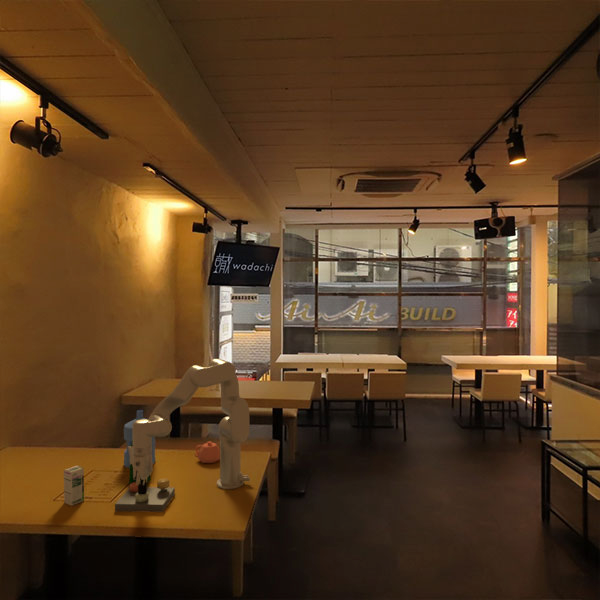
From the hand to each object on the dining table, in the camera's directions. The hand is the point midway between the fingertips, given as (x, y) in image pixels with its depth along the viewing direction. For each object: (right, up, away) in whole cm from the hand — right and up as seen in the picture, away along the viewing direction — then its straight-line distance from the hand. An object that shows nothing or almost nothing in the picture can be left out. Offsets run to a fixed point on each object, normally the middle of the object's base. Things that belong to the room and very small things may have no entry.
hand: (142, 493), depth 185 cm
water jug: (-18, -5, +47) cm, 51 cm away
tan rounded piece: (+6, -4, +9) cm, 11 cm away
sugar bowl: (+17, -6, +52) cm, 55 cm away
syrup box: (-31, -6, +5) cm, 32 cm away
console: (0, -6, +5) cm, 7 cm away
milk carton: (-10, -6, +24) cm, 27 cm away
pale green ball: (0, -5, 0) cm, 5 cm away
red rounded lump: (-6, -5, +9) cm, 12 cm away
